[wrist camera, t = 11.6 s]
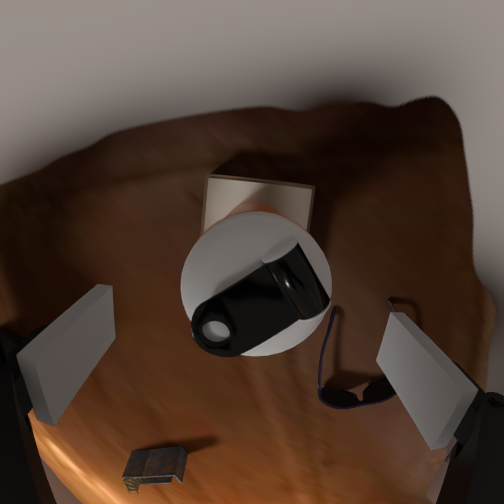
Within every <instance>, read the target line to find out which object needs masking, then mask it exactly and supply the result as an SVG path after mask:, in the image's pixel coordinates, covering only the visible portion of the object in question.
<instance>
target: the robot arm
mask: <svg viewBox="0 0 504 504" xmlns="http://www.w3.org/2000/svg"><path fill="white" fill-rule="evenodd" d="M115 338H116V337H115V324H114V309H113V289H112V286H109V285H102V284H97V285H96V286H95V287H94V288H92V289H91V290H90V291H89V292H88V293H86V294H85V295H84V296H83V297H82V298H80V299H79V300H78V301H77V302H76V303H74V304H73V305H72V306H71V307H70V308H69V309H67V310H66V311H65V312H64V313H63V314H61V315H60V316H59V317H58V318H57V319H56V320H55V321H53V322H52V323H51V324H50V325H49V326H48V325H44V326H42V327H39V328H37V329H35V330H34V331H33V332H31V333H30V334H29V335H28V337H26V338H24V339H21V338H20V337H19V336H17V335H16V334H14V333H12V332H10V331H7V330H0V504H57V503H56V501H55V498H54V496H53V493H52V491H51V488H50V485H49V482H48V480H47V477H46V474H45V471H44V468H43V465H42V462H41V459H40V455H39V452H38V449H37V445H36V442H35V438H34V434H33V430H32V426H31V422H30V419H29V417H28V413H29V412H30V410H31V409H32V408H33V410H34V413H35V415H36V418H37V420H39V421H42V422H44V423H47V424H49V425H52V426H55V425H56V423H57V422H58V420H59V419H60V417H61V416H62V414H63V413H64V411H65V410H66V408H67V407H68V405H69V404H70V402H71V401H72V399H73V398H74V396H75V395H76V393H77V392H78V391H79V389H80V388H81V386H82V385H83V383H84V382H85V380H86V379H87V377H88V376H89V375H90V373H91V372H92V370H93V369H94V367H95V366H96V365H97V363H98V362H99V360H100V359H101V358H102V356H103V355H104V353H105V352H106V351H107V349H108V348H109V346H110V345H111V344H112V342H113V341H114V340H115ZM376 361H377V363H378V364H379V366H380V367H381V369H382V371H383V372H384V374H385V375H386V377H387V379H388V380H389V382H390V383H391V385H392V387H393V388H394V390H395V391H396V393H397V395H398V396H399V398H400V399H401V401H402V403H403V404H404V406H405V408H406V409H407V411H408V413H409V414H410V416H411V417H412V419H413V421H414V422H415V424H416V426H417V427H418V429H419V431H420V433H421V434H422V436H423V438H424V439H425V441H426V443H427V444H428V446H429V448H430V450H434V449H439V448H443V447H446V446H447V445H448V443H449V441H450V440H451V438H452V437H453V435H454V436H455V438H456V439H457V442H456V444H455V446H454V447H453V449H452V450H451V452H450V453H449V455H448V456H447V458H446V459H445V462H447V461H448V459H449V458H450V462H449V465H448V468H447V472H446V475H445V478H444V482H443V485H442V488H441V491H440V493H439V496H438V499H437V502H436V504H504V396H503V395H501V394H499V393H495V392H487V393H485V392H484V391H483V390H482V389H481V388H480V386H479V385H478V384H477V383H476V382H475V381H474V380H473V379H472V378H471V377H470V376H469V375H468V374H467V373H466V372H465V371H464V370H463V369H462V368H461V366H460V365H459V364H457V363H456V362H454V361H452V360H451V359H449V358H448V357H447V356H446V355H445V354H444V353H443V352H442V351H441V350H440V349H439V348H438V347H437V346H436V345H435V344H434V342H433V341H432V340H431V339H430V338H429V337H428V336H427V335H426V334H425V333H424V332H423V331H422V330H421V329H420V328H419V327H418V326H417V325H416V324H414V323H413V322H412V321H411V320H410V319H409V318H408V317H407V316H406V315H405V314H404V313H396V312H390V316H389V319H388V323H387V327H386V330H385V333H384V337H383V340H382V343H381V347H380V350H379V353H378V356H377V359H376Z"/></svg>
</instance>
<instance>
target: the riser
mask: <svg viewBox="0 0 504 504" xmlns="http://www.w3.org/2000/svg"><path fill="white" fill-rule="evenodd" d="M314 194H315V186H312V185H307V184H300V183H292V182H284V181H276V180H268V179H259V178H250V177H240V176H230V175H219V174H206V177H205V187H204V198H203V209H202V221H201V234H200V236H201V235H202V234H203V233H204V232H205V231H206V230H207V229H208V228H209V227H211V226H212V225H213V224H215V223H216V222H217V221H219V220H221V219H223V218H225V217H226V216H227V215H228V214H229V213H230V212H231V211H232V210H233V209H234V208H236V207H237V206H239V205H241V204H244V203H248V202H260V203H264V204H267V205H269V206H271V207H272V208H274V209H275V210H276V211H277V212H279V213H280V214H281V215H282V216H285V217H288V218H290V219H291V220H293V221H295V222H296V223H298V224H299V225H301V226H302V227H303V228H304V229H305V230H306V231H307V232H308V233H309V231H310V224H311V216H312V209H313V202H314Z"/></svg>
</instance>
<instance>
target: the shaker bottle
mask: <svg viewBox="0 0 504 504" xmlns="http://www.w3.org/2000/svg"><path fill="white" fill-rule="evenodd" d="M331 288H332V279H331V273H330V268H329V265H328V262H327V260H326V257H325V255H324V253H323V251H322V250H321V248H320V247H319V246H318V244H317V243H316V241H315V240H314V239H313V237H312V236H311V235H310V234H309V233H308V232H307V231H306V230H305V229H304V228H303V227H302V226H301V225H299V224H298V223H296V222H295V221H293V220H291V219H290V218H288V217H285V216H282V215H281V214H280V213H279V212H277V211H276V210H275V209H274V208H272V207H271V206H269V205H267V204H264V203H260V202H248V203H244V204H241V205H239V206H237V207H236V208H234V209H233V210H232V211H231V212H230V213H229V214H228V215H227V216H226V217H225V218H223V219H221V220H219V221H217V222H216V223H215V224H213V225H212V226H211V227H209V228H208V229H207V230H206V231H205V232H204V233H203V234H202V235H201V236H200V238H199V239H198V240H197V241H196V243H195V245H194V246H193V248H192V250H191V252H190V253H189V255H188V257H187V259H186V261H185V264H184V268H183V271H182V276H181V295H182V302H183V305H184V307H185V310H186V313H187V315H188V317H189V319H190V320H191V332H192V336H193V339H194V341H195V342H196V343H197V344H198V346H199V347H200V348H202V349H203V350H205V351H206V352H208V353H210V354H213V355H217V356H220V357H235V356H239V355H247V356H267V355H271V354H276V353H280V352H283V351H285V350H287V349H290V348H292V347H294V346H296V345H297V344H299V343H300V342H302V341H303V340H305V339H306V338H307V337H308V336H309V335H310V334H311V333H312V332H313V331H314V330H315V329H316V328H317V326H318V325H319V323H320V322H321V321H322V319H323V317H324V315H325V313H326V312H327V310H328V309H329V307H330V305H331V300H330V297H331Z"/></svg>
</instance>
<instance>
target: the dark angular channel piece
mask: <svg viewBox="0 0 504 504" xmlns="http://www.w3.org/2000/svg"><path fill="white" fill-rule="evenodd" d="M187 455H188V454H187V452H186V451H185V450H184V449H183V447H182V446H177V447H169V448H160V449H150V450H139V451H132V452H131V455H130V457H129V460H128V463H127V465H126V468H125V471H124V473H123V476H122V478H123V479H124V480H123V482H124V484H125V485H126V487H127V489H128V491H129V493H130V492H137V494H138V486H139V485H145V484H171V481H172V477H173V476H175V478H176V479H177V480H178V481H179V482H180V483H182V480H183V475H184V470H185V465H186V460H187Z"/></svg>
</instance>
